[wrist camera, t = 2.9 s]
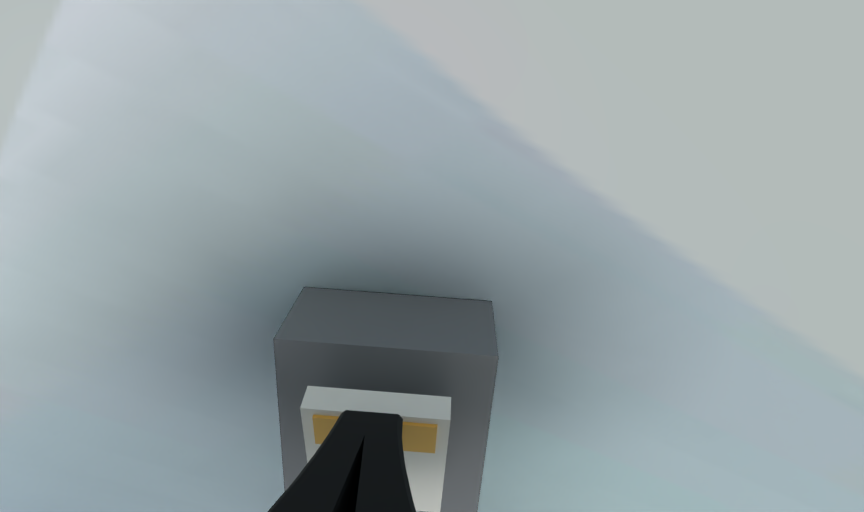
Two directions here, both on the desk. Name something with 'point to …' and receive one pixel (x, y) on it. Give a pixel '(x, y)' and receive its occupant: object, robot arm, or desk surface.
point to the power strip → (393, 368)
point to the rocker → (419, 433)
